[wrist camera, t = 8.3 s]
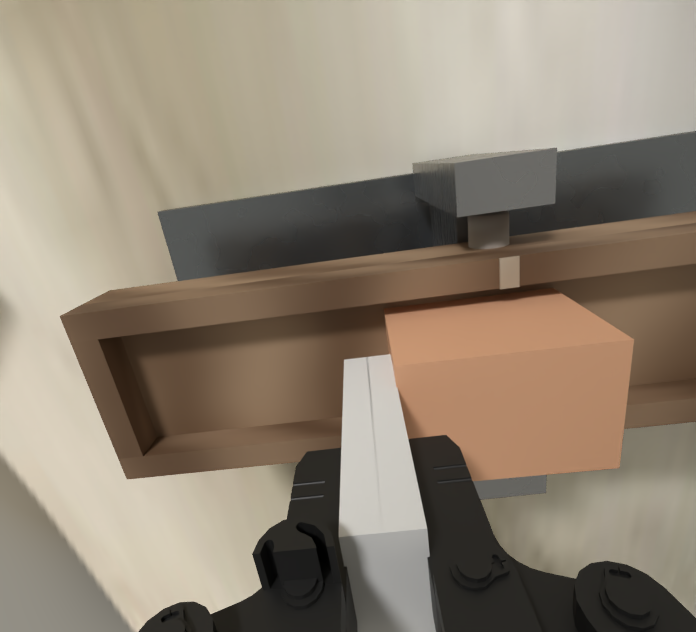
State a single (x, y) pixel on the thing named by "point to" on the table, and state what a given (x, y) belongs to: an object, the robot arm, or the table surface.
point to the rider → (513, 381)
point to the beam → (360, 336)
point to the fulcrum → (437, 214)
